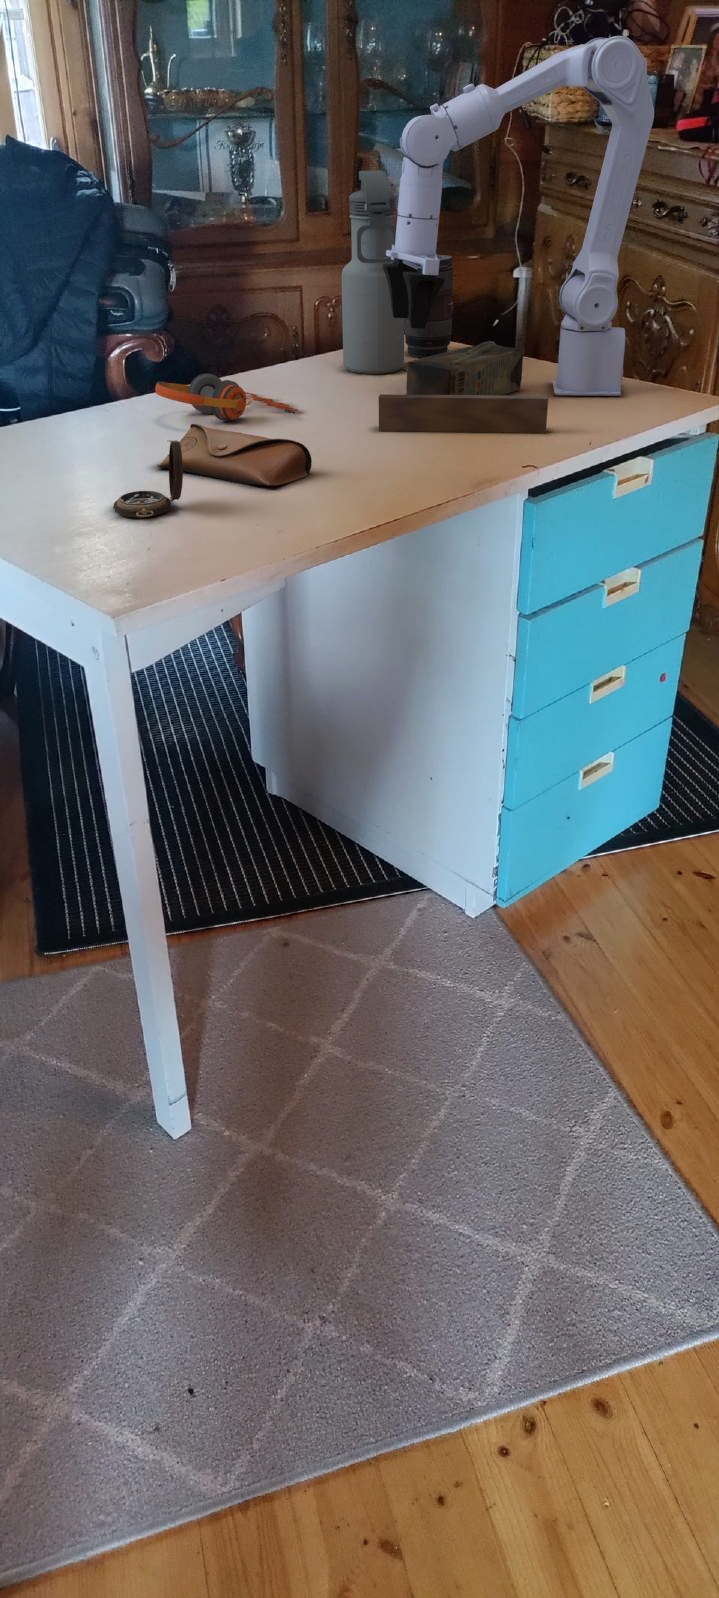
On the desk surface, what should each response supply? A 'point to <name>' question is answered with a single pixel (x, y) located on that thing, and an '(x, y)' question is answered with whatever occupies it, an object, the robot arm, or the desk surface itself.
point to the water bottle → (371, 282)
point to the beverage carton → (467, 371)
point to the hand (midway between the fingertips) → (408, 322)
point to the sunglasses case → (242, 457)
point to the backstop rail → (463, 413)
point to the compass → (151, 500)
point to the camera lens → (434, 319)
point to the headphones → (214, 396)
